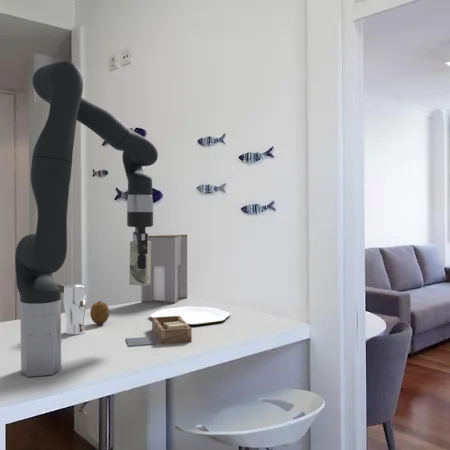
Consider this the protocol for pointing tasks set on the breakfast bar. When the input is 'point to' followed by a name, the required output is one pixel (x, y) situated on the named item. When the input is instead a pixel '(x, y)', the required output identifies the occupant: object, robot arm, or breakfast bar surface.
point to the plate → (194, 314)
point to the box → (136, 274)
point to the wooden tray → (171, 330)
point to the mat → (140, 341)
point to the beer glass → (75, 308)
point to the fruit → (99, 313)
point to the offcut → (173, 325)
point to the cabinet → (167, 270)
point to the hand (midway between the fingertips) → (140, 267)
